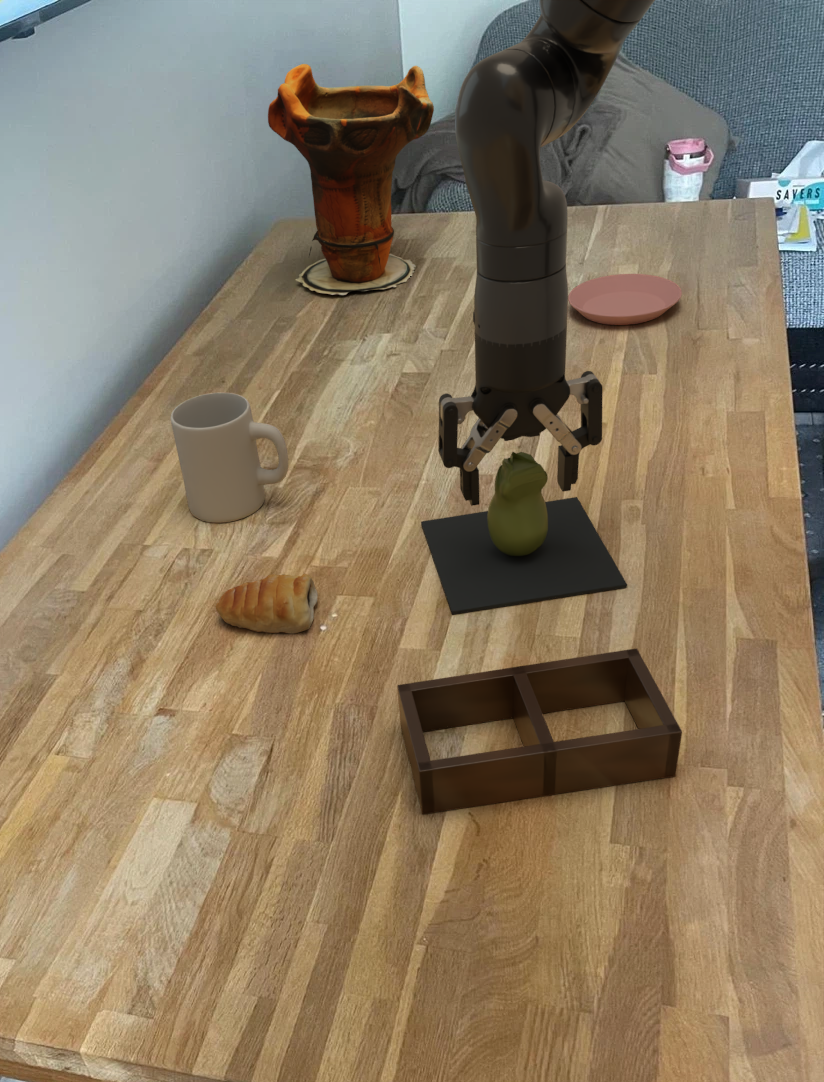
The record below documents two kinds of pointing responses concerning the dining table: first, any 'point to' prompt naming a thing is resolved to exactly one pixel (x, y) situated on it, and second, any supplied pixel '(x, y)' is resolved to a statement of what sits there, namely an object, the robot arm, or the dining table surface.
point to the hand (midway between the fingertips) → (518, 494)
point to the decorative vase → (352, 171)
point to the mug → (224, 456)
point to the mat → (520, 561)
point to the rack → (538, 731)
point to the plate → (624, 298)
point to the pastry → (271, 604)
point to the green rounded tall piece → (518, 506)
